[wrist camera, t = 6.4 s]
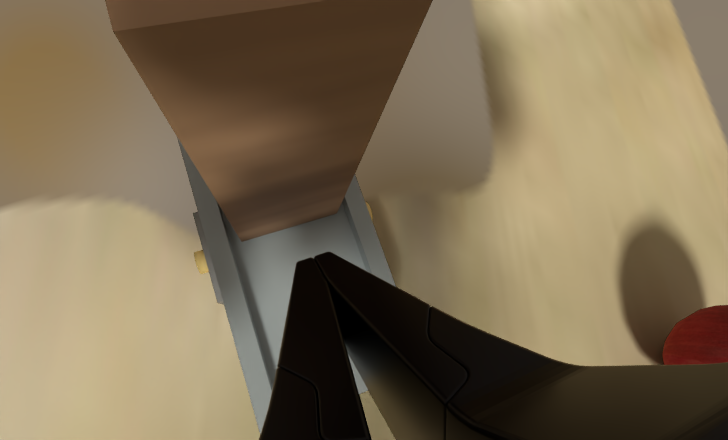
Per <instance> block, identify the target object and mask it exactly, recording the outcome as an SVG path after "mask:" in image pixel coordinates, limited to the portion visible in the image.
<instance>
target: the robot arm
mask: <svg viewBox="0 0 728 440" xmlns="http://www.w3.org/2000/svg"><path fill="white" fill-rule="evenodd" d="M348 354H349V356H350V358H351V360H352V362H353V363H354V365H355V367H356V369H357V371H358V372H359V374H360V376H361V378H362V380H363V381H364V383H365V385H366V387H367V389H368V390H369V392H370V394H371V396H372V398H373V399H374V401H375V403H376V405H377V407H378V408H379V410H380V412H381V414H382V416H383V418H384V419H385V421H386V423H387V425H388V427H389V428H390V430H391V432H392V434H393V436H394V437H395V439H396V440H728V362H725V363H715V364H689V365H635V366H579V365H573V364H568V363H564V362H560V361H557V360H554V359H551V358H548V357H545V356H543V355H541V354H538V353H536V352H533V351H531V350H528V349H526V348H523V347H521V346H519V345H516V344H514V343H511V342H509V341H506V340H504V339H501V338H499V337H497V336H494V335H492V334H489V333H487V332H485V331H482V330H480V329H478V328H475V327H473V326H471V325H469V324H466V323H464V322H462V321H460V320H458V319H456V318H454V317H452V316H450V315H448V314H446V313H444V312H442V311H441V310H439V309H437V308H435V307H433V306H432V307H430V305H429V304H427V303H425V302H423V301H422V300H420V299H418V298H416V297H414V296H412V295H410V294H408V293H407V292H405V291H403V290H401V289H399V288H397V287H395V286H394V285H392V284H390V283H388V282H386V281H384V280H382V279H380V278H379V277H377V276H375V275H373V274H371V273H369V272H367V271H365V270H364V269H362V268H360V267H358V266H356V265H354V264H352V263H351V262H349V261H347V260H345V259H343V258H341V257H339V256H337V255H336V254H334V253H332V252H325V253H322V254H319V255H316V256H315V257H314V259H313V258H312V257H310V258H307V259H304V260H300V261H298V262H297V263H296V266H295V272H294V277H293V283H292V288H291V294H290V299H289V304H288V310H287V315H286V321H285V326H284V332H283V337H282V343H281V348H280V353H279V359H278V364H277V367H278V368H277V369H276V374H275V380H274V385H273V389H272V394H271V398H270V403H269V407H268V411H267V414H266V418H265V421H264V424H263V428H262V431H261V434H260V438H259V440H372V439H371V436H370V432H369V428H368V425H367V421H366V418H365V414H364V410H363V407H362V403H361V399H360V396H359V392H358V389H357V385H356V381H355V378H354V374H353V370H352V367H351V363H350V359H349V356H348Z"/></svg>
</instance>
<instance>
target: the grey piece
mask: <svg viewBox="0 0 728 440" xmlns="http://www.w3.org/2000/svg"><path fill="white" fill-rule="evenodd" d="M177 138H178V137H177ZM178 142H179V145H180V149H181V152H182V156H183V159H184V163H185V166H186V170H187V174H188V177H189V181H190V184H191V188H192V192H193V195H194V199H195V202H196V206H197V210H198V212H196V213H193V216H194V219H195V223H196V226H197V230H198V234H199V237H200V241H201V244H202V248H203V250H201V251H197V252H194V257H195V261H196V265H197V267H198V270H199V272H200V273H201V274H203V273H207V272H209V273H210V277H211V281H212V284H213V288H214V291H215V295H216V299H217V302H218V303H220V304H224V306H225V310H226V313H227V317H228V320H229V324H230V328H231V331H232V335H233V338H234V342H235V345H236V349H237V353H238V356H239V360H240V363H241V367H242V370H243V374H244V378H245V381H246V385H247V388H248V392H249V395H250V399H251V403H252V406H253V410H254V413H255V417H256V421H257V424H258V428H259V431H260V434H261V431H262V428H263V424H264V421H265V418H266V414H267V411H268V407H269V403H270V398H271V394H272V389H273V385H274V380H275V374H276V369H277V368H278V367H277V364H278V359H279V353H280V348H281V343H282V337H283V332H284V326H285V321H286V315H287V310H288V304H289V299H290V294H291V288H292V283H293V277H294V272H295V266H296V263H297V262H298V261H300V260H304V259H307V258H310V257H312V258H313V259H314V257H315V256H316V255H319V254H322V253H325V252H332V253H334V254H336V255H337V256H339V257H341V258H343V259H345V260H347V261H349V262H351V263H352V264H354V265H356V266H358V267H360V268H362V269H364V270H365V271H367V272H369V273H371V274H373V275H375V276H377V277H379V278H380V279H382V280H384V281H386V282H388V283H390V284H392V285H394V286H395V287H396V285H395V282H394V280H393V277H392V274H391V271H390V269H389V266H388V263H387V261H386V258H385V255H384V252H383V250H382V247H381V244H380V241H379V239H378V236H377V233H376V230H375V228H374V225H373V222H372V220H373V215H372V211H371V208H370V206H369V204H368V203H367V202H365V200H364V198H363V195H362V192H361V189H360V187H359V184H358V181H357V178H356V176H355V174H354V177H353V179H352V181H351V183H350V185H349V188H348V190H347V192H346V194H345V197H344V199H343V201H342V203H341V205H340V208H339V210H338V212H337V214H334V215H330V216H327V217H324V218H320V219H317V220H313V221H310V222H307V223H303V224H300V225H297V226H293V227H290V228H287V229H283V230H280V231H277V232H273V233H270V234H267V235H263V236H260V237H256V238H253V239H250V240H246V241H243V242H241V240H240V238H239V237H238V235H237V234H236V232H235V230H234V229H233V227H232V225H231V224H230V222H229V220H228V219H227V217H226V216H225V214H224V212H223V211H222V209H221V207H220V206H219V204H218V202H217V201H216V199H215V198H214V196H213V194H212V193H211V191H210V189H209V188H208V186H207V184H206V183H205V181H204V179H203V178H202V176H201V175H200V173H199V171H198V170H197V168H196V166H195V165H194V163H193V161H192V160H191V158H190V157H189V155H188V153H187V152H186V150H185V148H184V147H183V145H182V143H181V142H180V140H179V139H178ZM348 356H349V354H348ZM349 359H350V363H351V367H352V370H353V374H354V378H355V381H356V385H357V389H358V392H359V394H361V393H363V392H365V391H368V389H367V387H366V385H365V383H364V381H363V380H362V378H361V376H360V374H359V372H358V371H357V369H356V367H355V365H354V363H353V362H352V360H351V358H350V356H349Z"/></svg>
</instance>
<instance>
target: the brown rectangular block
mask: <svg viewBox="0 0 728 440" xmlns="http://www.w3.org/2000/svg"><path fill="white" fill-rule="evenodd" d="M432 1H433V0H105V2H106V6H107V10H108V14H109V17H110V21H111V25H112V29H113V32H114V34H115V35H116V37H117V39H118V40H119V42H120V44H121V45H122V47H123V48H124V50H125V52H126V53H127V55H128V57H129V58H130V60H131V62H132V63H133V65H134V66H135V68H136V70H137V71H138V73H139V75H140V76H141V78H142V79H143V81H144V83H145V84H146V86H147V88H148V89H149V91H150V93H151V94H152V96H153V97H154V99H155V101H156V102H157V104H158V106H159V107H160V109H161V111H162V112H163V114H164V116H165V117H166V119H167V120H168V122H169V124H170V125H171V127H172V129H173V130H174V132H175V134H176V135H177V137H178V139H179V140H180V142H181V143H182V145H183V147H184V148H185V150H186V152H187V153H188V155H189V157H190V158H191V160H192V161H193V163H194V165H195V166H196V168H197V170H198V171H199V173H200V175H201V176H202V178H203V179H204V181H205V183H206V184H207V186H208V188H209V189H210V191H211V193H212V194H213V196H214V198H215V199H216V201H217V202H218V204H219V206H220V207H221V209H222V211H223V212H224V214H225V216H226V217H227V219H228V220H229V222H230V224H231V225H232V227H233V229H234V230H235V232H236V234H237V235H238V237H239V238H240V240H241V242H243V241H246V240H250V239H253V238H256V237H260V236H263V235H267V234H270V233H273V232H277V231H280V230H283V229H287V228H290V227H293V226H297V225H300V224H303V223H307V222H310V221H313V220H317V219H320V218H324V217H327V216H330V215H334V214H337V212H338V210H339V208H340V205H341V203H342V201H343V199H344V197H345V194H346V192H347V190H348V188H349V185H350V183H351V181H352V179H353V177H354V174H355V172H356V170H357V167H358V165H359V163H360V161H361V159H362V156H363V154H364V152H365V150H366V147H367V145H368V143H369V141H370V139H371V136H372V134H373V132H374V130H375V127H376V125H377V123H378V121H379V119H380V116H381V114H382V112H383V110H384V107H385V105H386V103H387V100H388V99H389V96H390V94H391V92H392V90H393V87H394V85H395V83H396V80H397V78H398V76H399V74H400V72H401V69H402V67H403V65H404V63H405V61H406V58H407V56H408V54H409V52H410V49H411V47H412V45H413V43H414V40H415V38H416V36H417V34H418V32H419V29H420V27H421V25H422V23H423V20H424V18H425V16H426V14H427V12H428V9H429V7H430V5H431V3H432Z"/></svg>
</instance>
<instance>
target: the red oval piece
mask: <svg viewBox="0 0 728 440" xmlns="http://www.w3.org/2000/svg"><path fill="white" fill-rule="evenodd" d="M662 356H663V362H664V365H689V364H715V363H725V362H728V305H720V306H713V307H708V308H704V309H700V310H698V311H696V312H695V313H693V314H691V315H690V316H688V317H686V318H685V319H683V320H681V321H679V322H678V323H676V325H675V326H674V328H673V329H672V331H671V332H670V334H669V335H668V337H667V339H666V340H665V344H664V349H663V354H662Z"/></svg>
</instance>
